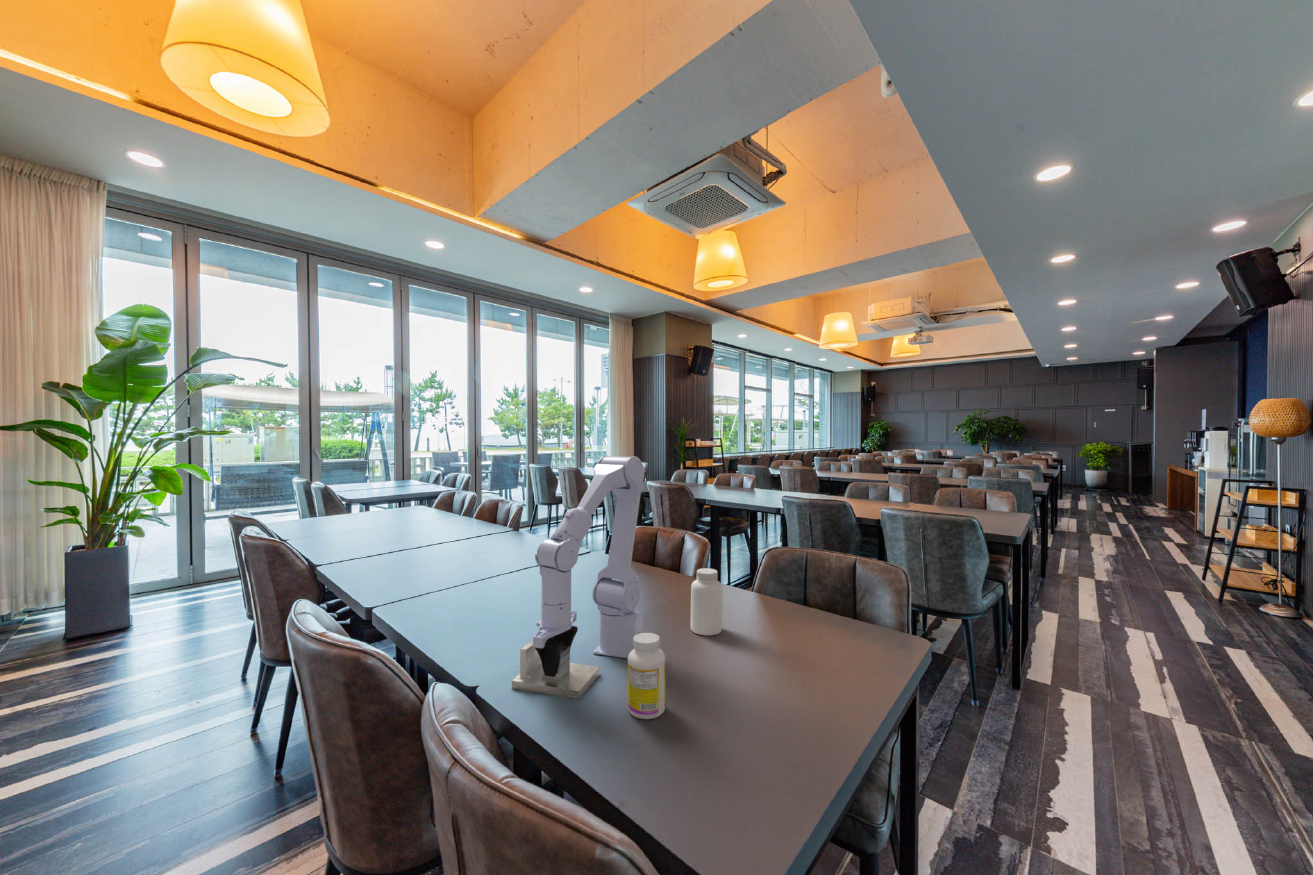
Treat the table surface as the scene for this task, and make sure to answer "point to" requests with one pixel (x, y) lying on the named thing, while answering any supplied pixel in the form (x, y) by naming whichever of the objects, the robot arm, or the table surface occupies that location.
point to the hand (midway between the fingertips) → (555, 669)
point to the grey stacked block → (561, 664)
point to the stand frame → (567, 687)
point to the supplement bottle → (646, 677)
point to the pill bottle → (706, 603)
